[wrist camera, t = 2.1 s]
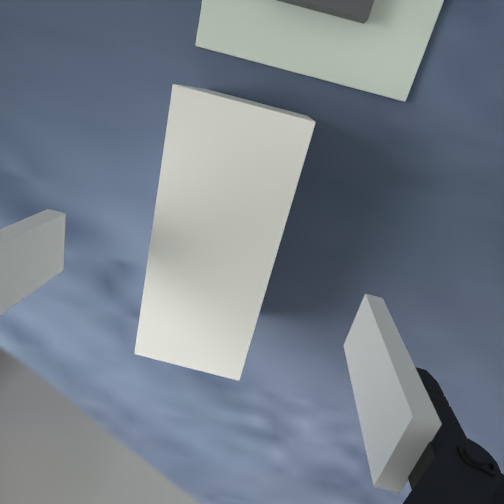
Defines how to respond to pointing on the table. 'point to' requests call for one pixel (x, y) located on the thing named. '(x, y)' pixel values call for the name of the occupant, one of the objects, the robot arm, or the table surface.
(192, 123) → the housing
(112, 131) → the table surface
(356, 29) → the plate
